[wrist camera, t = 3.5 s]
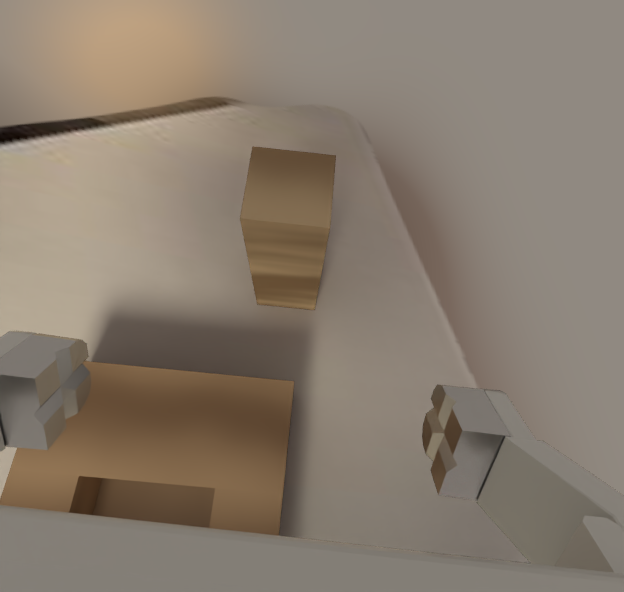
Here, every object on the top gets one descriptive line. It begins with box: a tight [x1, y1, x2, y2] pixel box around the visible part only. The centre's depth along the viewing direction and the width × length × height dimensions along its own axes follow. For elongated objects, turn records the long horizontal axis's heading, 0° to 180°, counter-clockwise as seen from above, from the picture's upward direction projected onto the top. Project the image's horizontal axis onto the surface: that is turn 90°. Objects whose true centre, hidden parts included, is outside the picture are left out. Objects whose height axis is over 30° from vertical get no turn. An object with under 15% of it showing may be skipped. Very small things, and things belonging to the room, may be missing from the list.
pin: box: [240, 147, 336, 310], centre depth 21 cm, size 4×4×10 cm
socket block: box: [0, 361, 294, 536], centre depth 19 cm, size 16×12×4 cm
